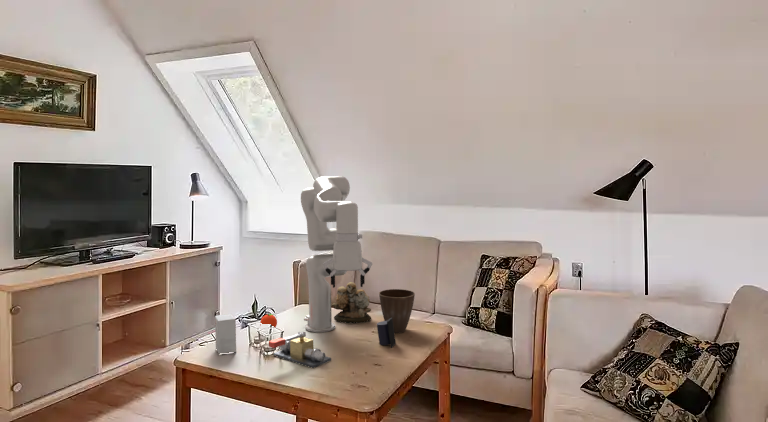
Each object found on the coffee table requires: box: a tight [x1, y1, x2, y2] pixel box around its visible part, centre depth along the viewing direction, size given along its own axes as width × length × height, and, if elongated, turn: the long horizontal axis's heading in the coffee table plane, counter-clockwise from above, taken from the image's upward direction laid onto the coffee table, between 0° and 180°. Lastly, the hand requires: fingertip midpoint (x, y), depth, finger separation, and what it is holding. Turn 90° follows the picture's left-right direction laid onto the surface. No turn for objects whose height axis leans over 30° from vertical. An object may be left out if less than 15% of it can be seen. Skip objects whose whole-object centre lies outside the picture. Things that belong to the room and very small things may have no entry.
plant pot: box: [378, 288, 416, 334], centre depth 222 cm, size 15×15×16 cm
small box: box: [214, 313, 237, 355], centre depth 197 cm, size 8×6×13 cm
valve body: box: [273, 336, 332, 369], centre depth 189 cm, size 20×9×8 cm, turn 53°
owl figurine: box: [331, 281, 372, 324], centre depth 238 cm, size 18×12×17 cm, turn 87°
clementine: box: [259, 313, 278, 328], centre depth 223 cm, size 8×7×7 cm
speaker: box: [376, 318, 397, 349], centre depth 204 cm, size 8×6×10 cm
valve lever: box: [268, 331, 307, 349], centre depth 184 cm, size 3×15×2 cm, turn 143°
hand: (347, 286), depth 185 cm, fingers open, 9 cm apart
